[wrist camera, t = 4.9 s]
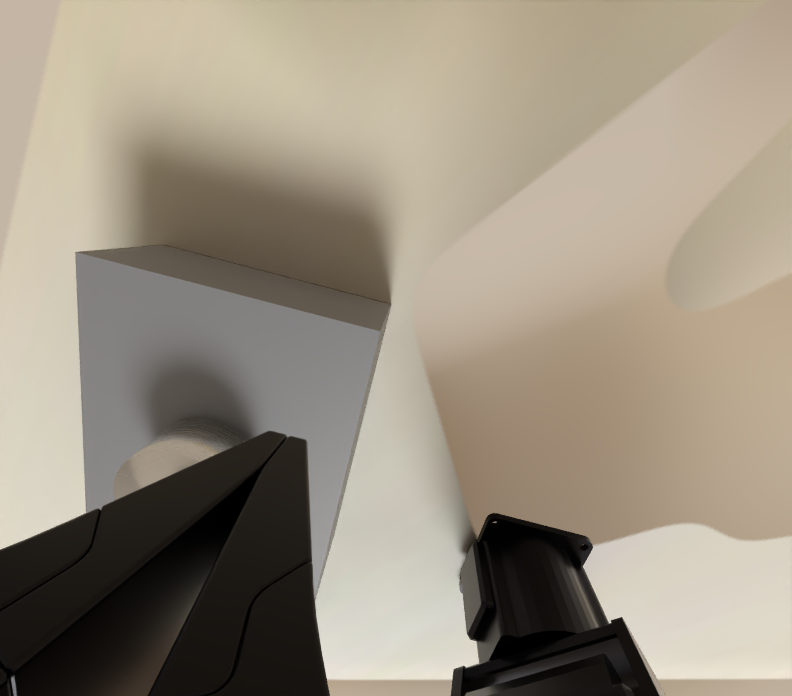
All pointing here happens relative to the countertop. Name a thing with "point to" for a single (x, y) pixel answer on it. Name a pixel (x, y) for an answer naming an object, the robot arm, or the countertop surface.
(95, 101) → the countertop surface
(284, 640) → the robot arm
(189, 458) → the knob
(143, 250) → the panel
